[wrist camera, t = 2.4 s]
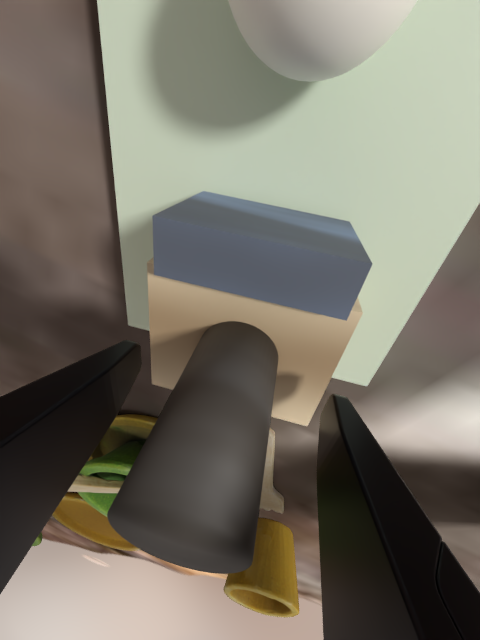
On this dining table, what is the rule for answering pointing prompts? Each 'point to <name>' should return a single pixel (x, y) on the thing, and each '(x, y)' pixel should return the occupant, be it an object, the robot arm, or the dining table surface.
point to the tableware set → (92, 523)
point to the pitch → (299, 143)
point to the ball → (317, 33)
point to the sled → (233, 366)
